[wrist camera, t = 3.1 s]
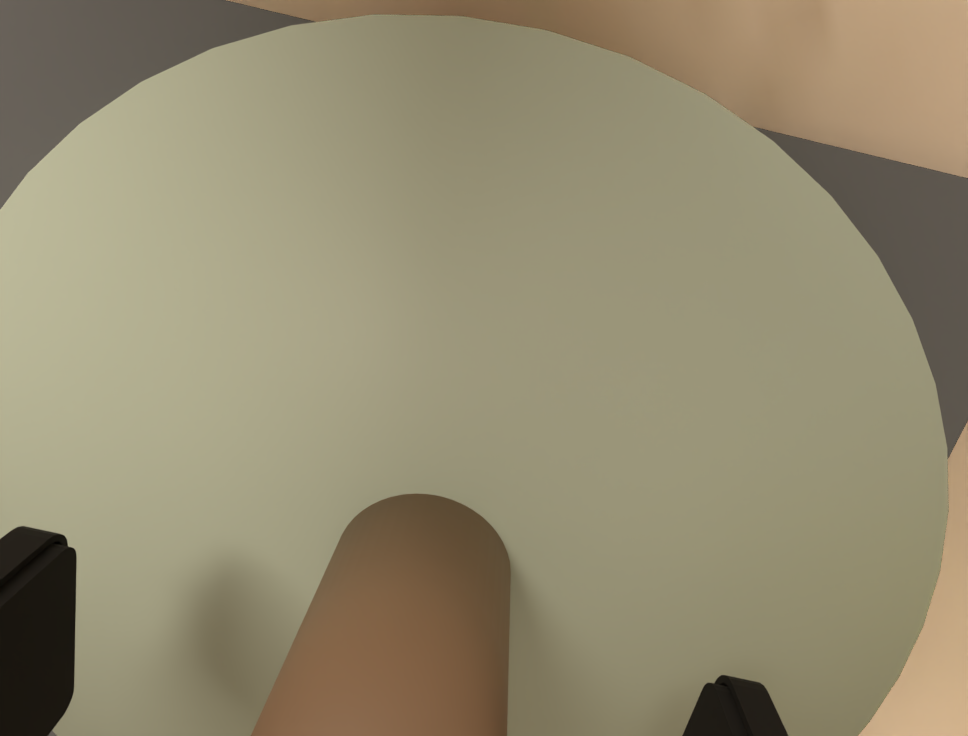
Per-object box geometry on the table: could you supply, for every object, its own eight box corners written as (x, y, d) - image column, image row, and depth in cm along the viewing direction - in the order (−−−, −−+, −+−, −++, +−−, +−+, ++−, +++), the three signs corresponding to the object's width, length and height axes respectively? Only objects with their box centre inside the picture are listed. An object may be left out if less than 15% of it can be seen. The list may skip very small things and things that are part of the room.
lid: (1127, 179, 10) (2276, 254, 3) (721, 934, 16) (858, 1477, 9) (-65, -109, 9) (-1323, -643, 3) (-18, 778, 15) (-404, 1235, 9)
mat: (1049, 201, 10) (1079, 205, 10) (702, 891, 16) (708, 918, 16) (0, -50, 10) (-31, -61, 10) (20, 746, 16) (1, 769, 15)
